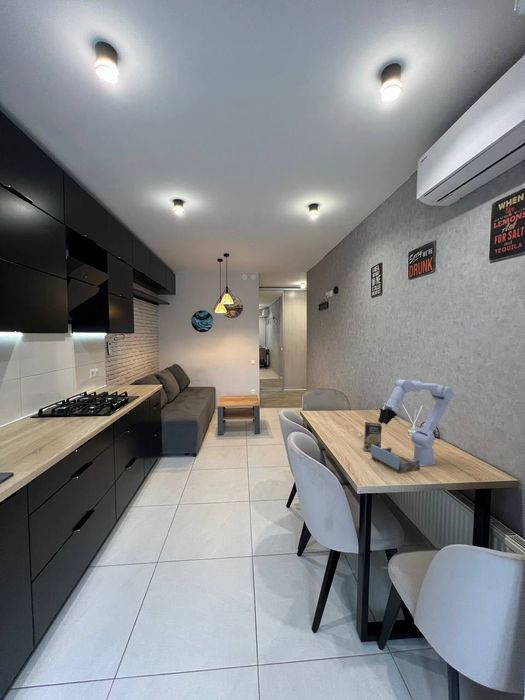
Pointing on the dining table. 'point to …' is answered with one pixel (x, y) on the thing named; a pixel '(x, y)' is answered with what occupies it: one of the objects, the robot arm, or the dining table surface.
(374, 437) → the coffee box
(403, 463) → the flatbed
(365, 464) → the dining table surface
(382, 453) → the bar
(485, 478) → the dining table surface
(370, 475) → the dining table surface
